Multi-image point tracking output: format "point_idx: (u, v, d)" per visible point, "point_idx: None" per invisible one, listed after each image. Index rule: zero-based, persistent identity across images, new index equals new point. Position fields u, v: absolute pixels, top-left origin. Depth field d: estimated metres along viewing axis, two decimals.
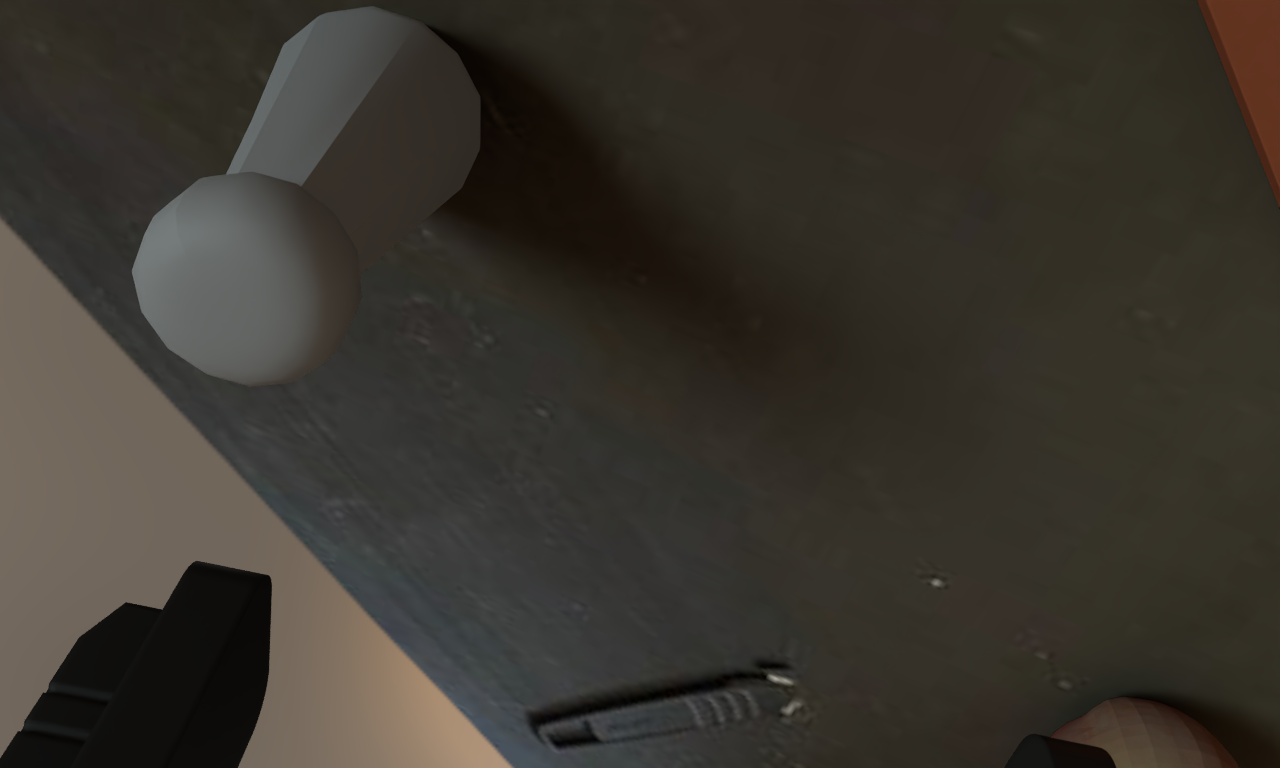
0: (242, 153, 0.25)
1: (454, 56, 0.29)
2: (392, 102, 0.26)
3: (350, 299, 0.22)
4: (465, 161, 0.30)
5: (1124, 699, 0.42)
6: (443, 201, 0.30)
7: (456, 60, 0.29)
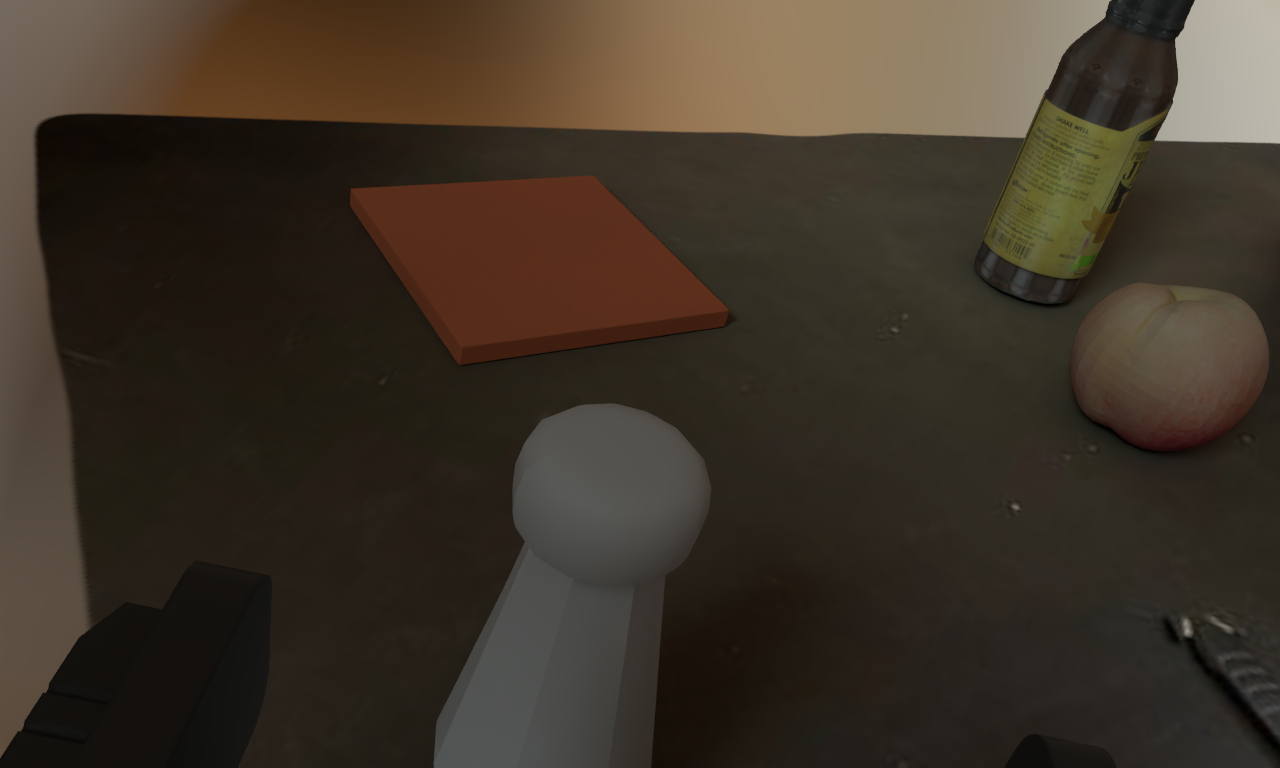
0: (520, 623, 0.25)
1: None
2: None
3: None
4: None
5: (1078, 401, 0.53)
6: None
7: None
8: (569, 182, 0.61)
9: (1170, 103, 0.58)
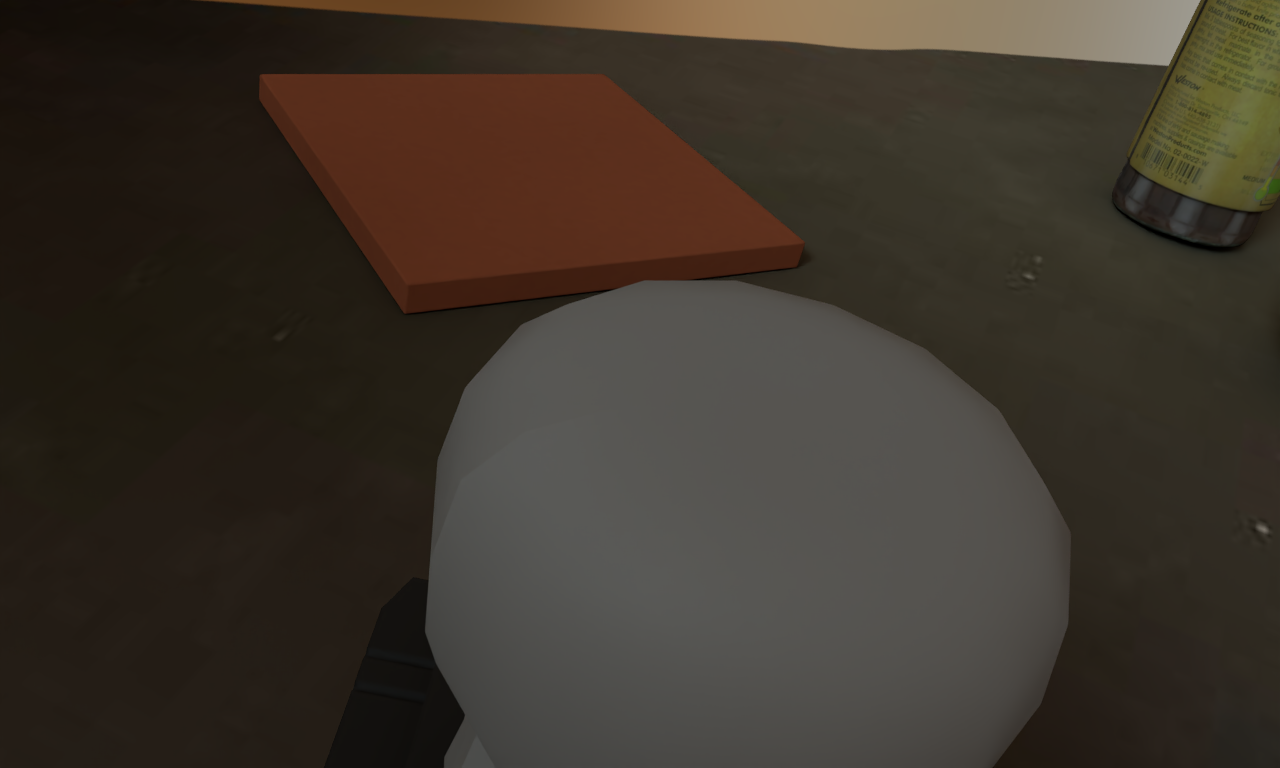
0: None
1: None
2: None
3: None
4: None
5: None
6: None
7: None
8: (572, 80, 0.44)
9: None
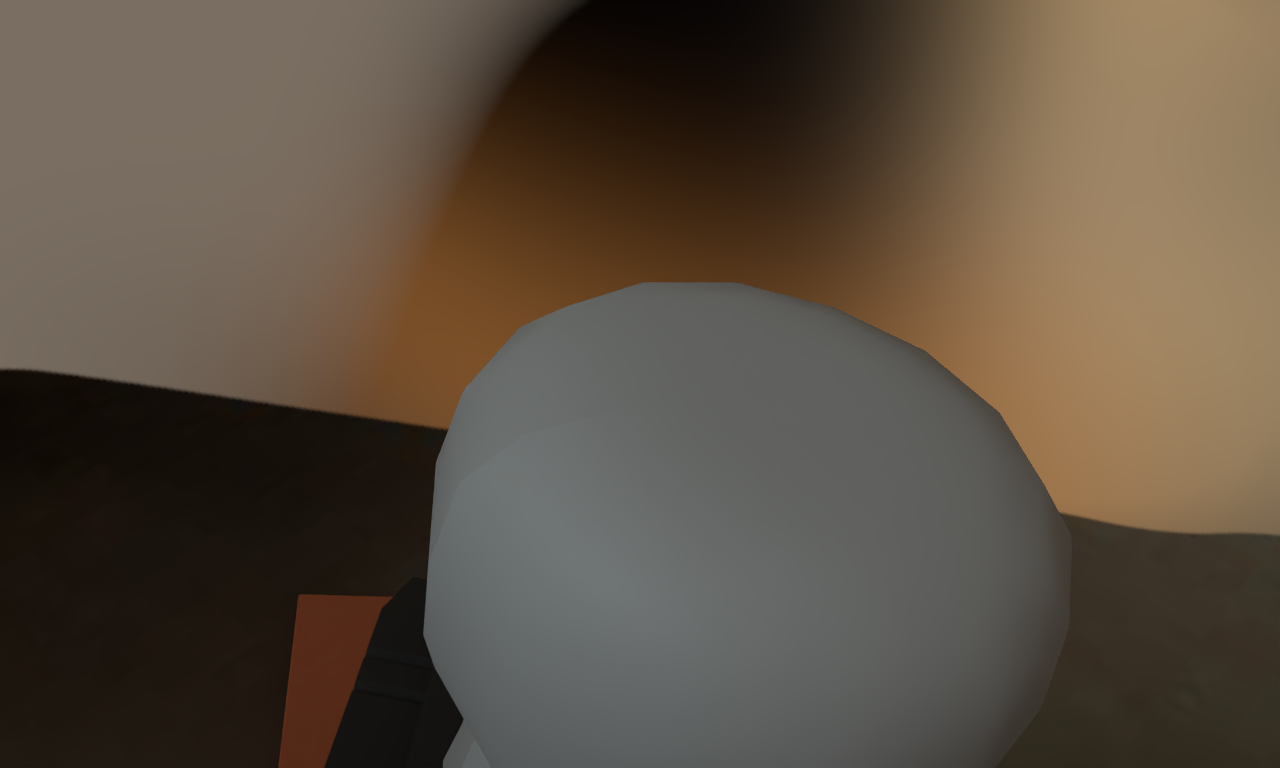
0: None
1: None
2: None
3: None
4: None
5: None
6: None
7: None
8: None
9: None
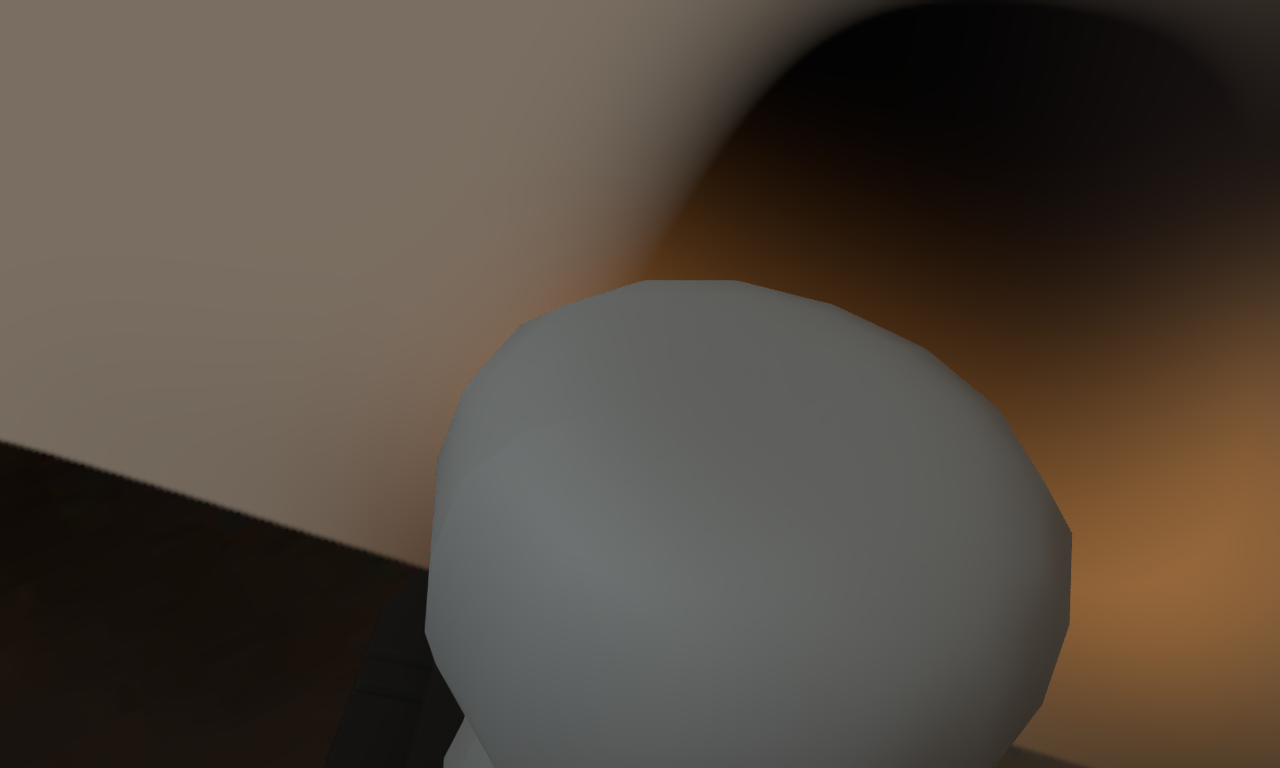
0: None
1: None
2: None
3: None
4: None
5: None
6: None
7: None
8: None
9: None
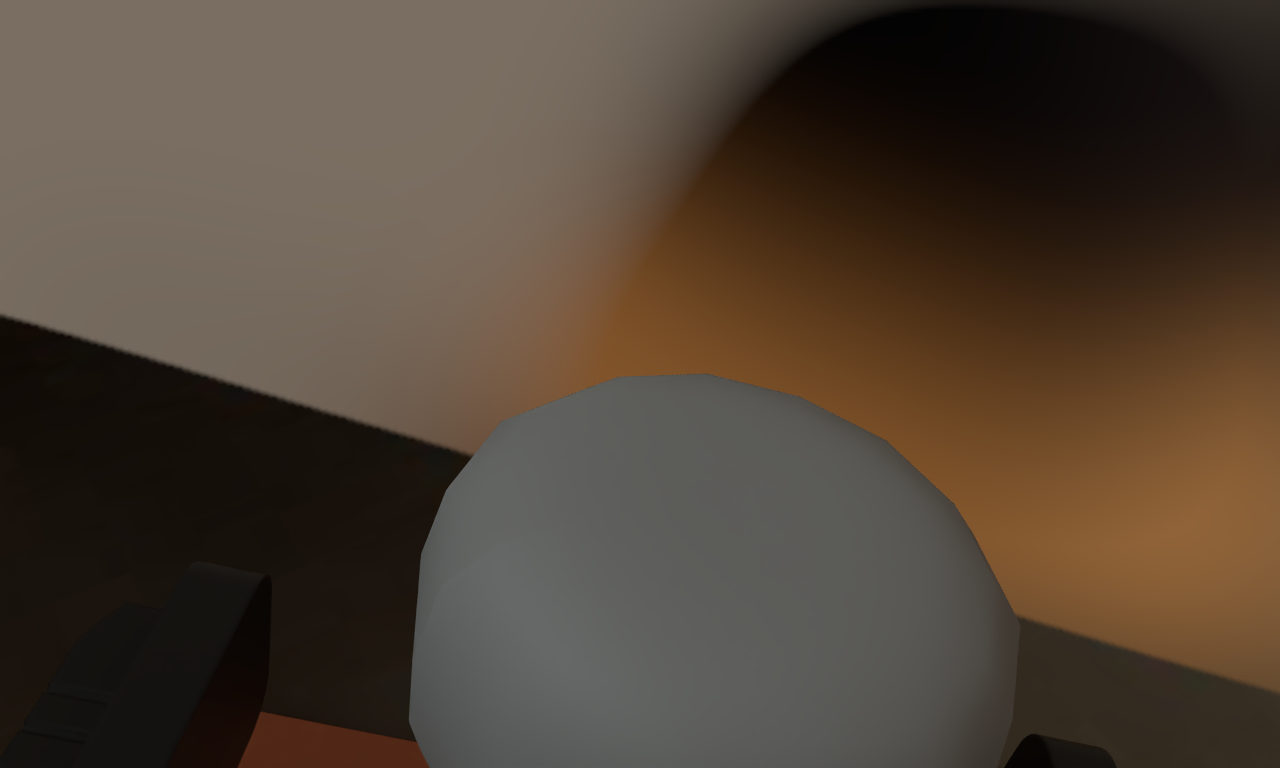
0: None
1: None
2: None
3: None
4: None
5: None
6: None
7: None
8: None
9: None
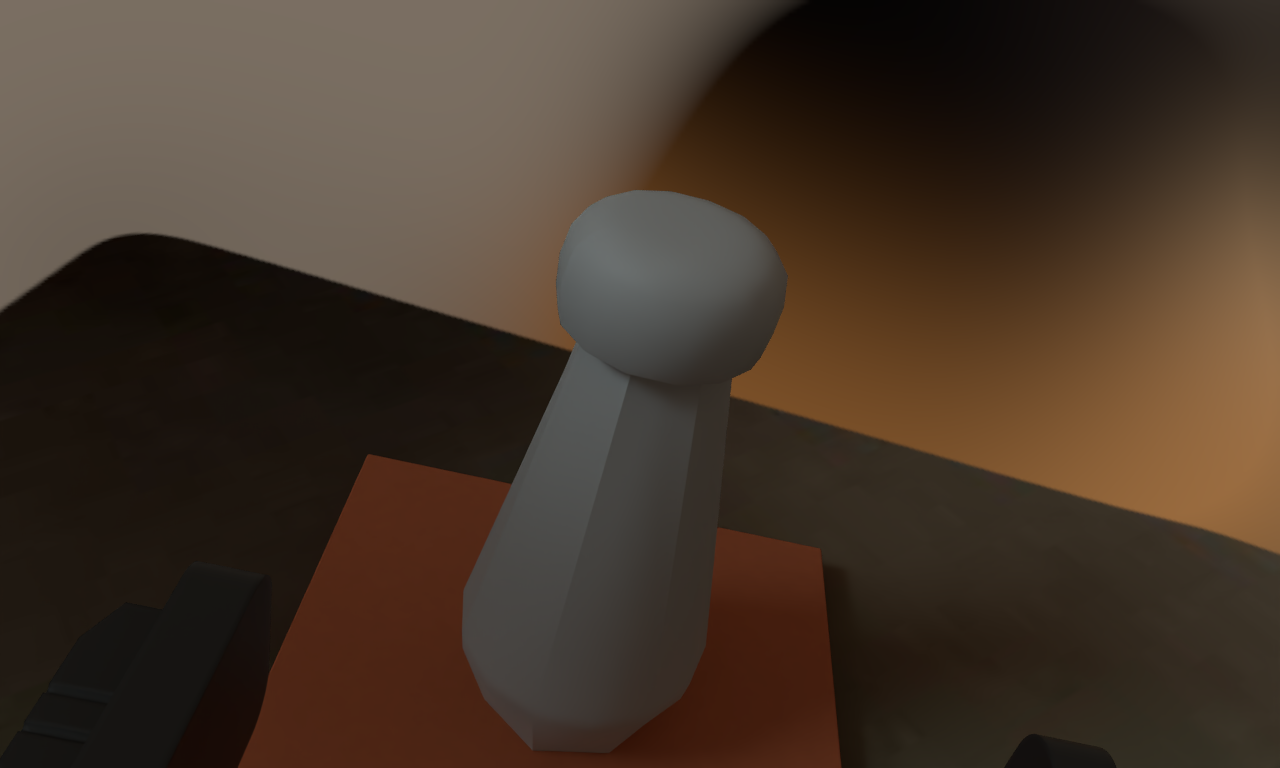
0: (564, 446, 0.22)
1: None
2: None
3: None
4: None
5: None
6: None
7: None
8: (761, 551, 0.33)
9: None
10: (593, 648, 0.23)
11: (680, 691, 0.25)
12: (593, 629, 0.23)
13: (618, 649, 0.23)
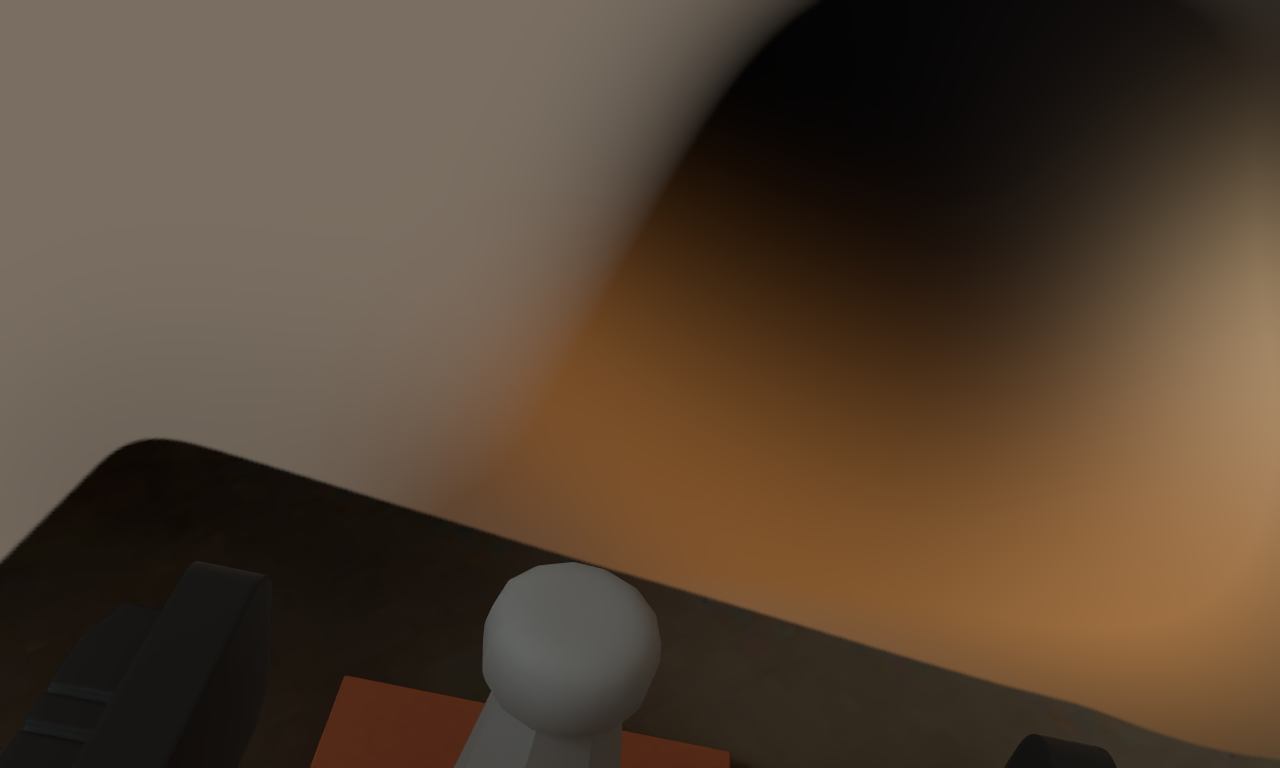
0: (491, 761, 0.28)
1: None
2: None
3: None
4: None
5: None
6: None
7: None
8: (678, 758, 0.39)
9: None
10: None
11: None
12: None
13: None
